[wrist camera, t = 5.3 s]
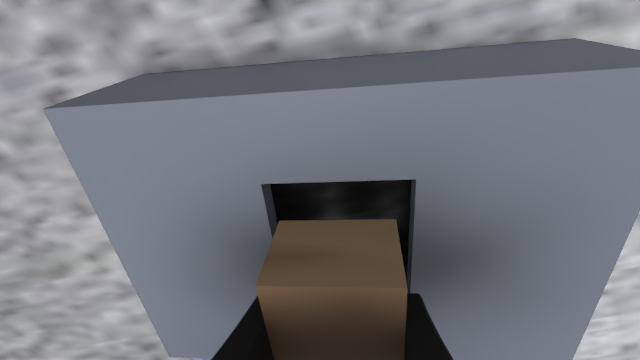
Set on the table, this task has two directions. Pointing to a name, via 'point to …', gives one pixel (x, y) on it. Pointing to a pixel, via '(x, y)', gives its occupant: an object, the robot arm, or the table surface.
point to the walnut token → (334, 290)
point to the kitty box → (373, 165)
